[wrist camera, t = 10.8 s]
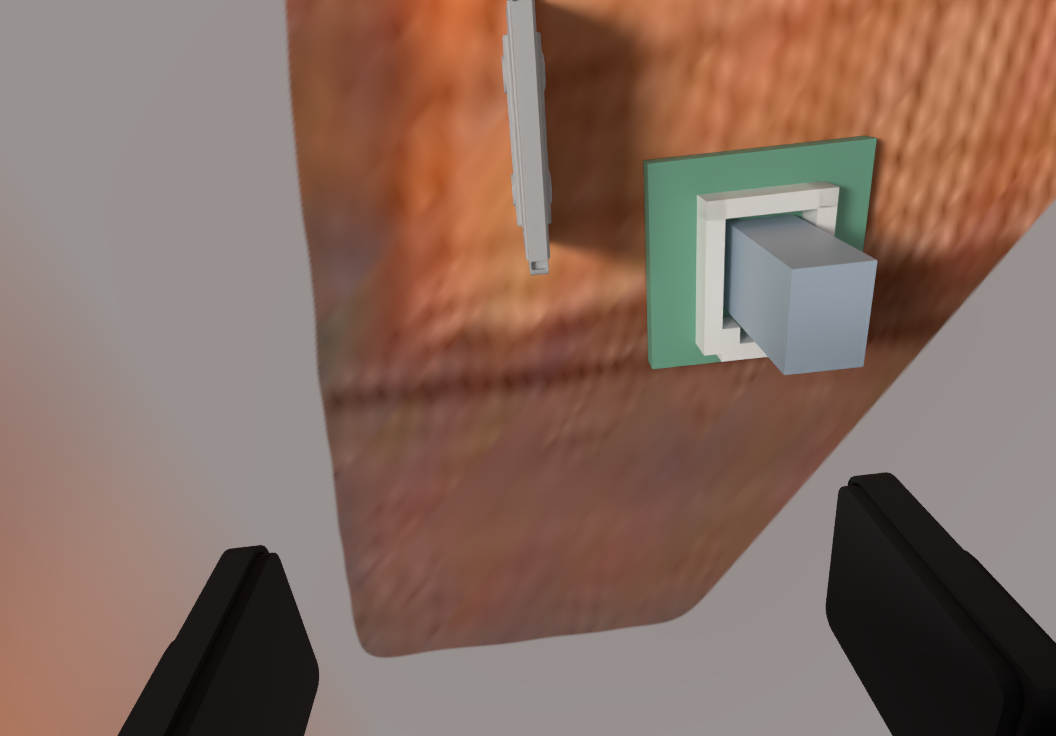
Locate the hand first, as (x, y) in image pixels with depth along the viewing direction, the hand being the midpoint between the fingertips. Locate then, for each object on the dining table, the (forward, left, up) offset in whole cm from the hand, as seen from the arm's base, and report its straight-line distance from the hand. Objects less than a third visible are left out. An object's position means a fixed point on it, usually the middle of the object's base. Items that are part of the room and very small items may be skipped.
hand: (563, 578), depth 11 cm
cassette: (-5, +1, -28) cm, 29 cm away
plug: (+4, +13, -27) cm, 30 cm away
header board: (+4, +13, -28) cm, 31 cm away
